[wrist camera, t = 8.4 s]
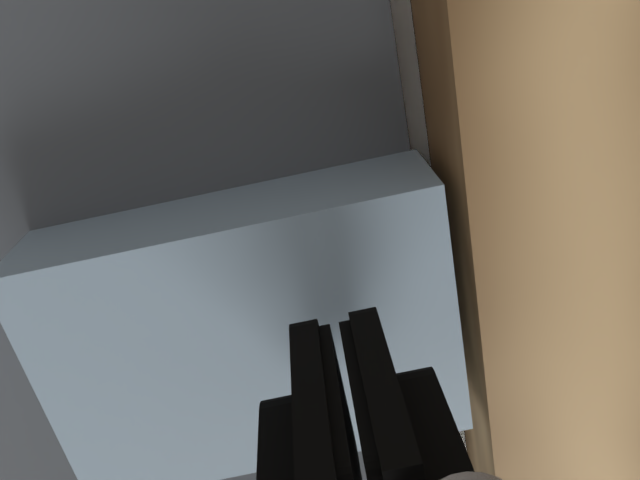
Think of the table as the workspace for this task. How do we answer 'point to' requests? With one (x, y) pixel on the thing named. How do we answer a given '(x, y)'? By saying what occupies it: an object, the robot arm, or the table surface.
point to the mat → (173, 125)
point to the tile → (226, 311)
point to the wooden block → (541, 225)
